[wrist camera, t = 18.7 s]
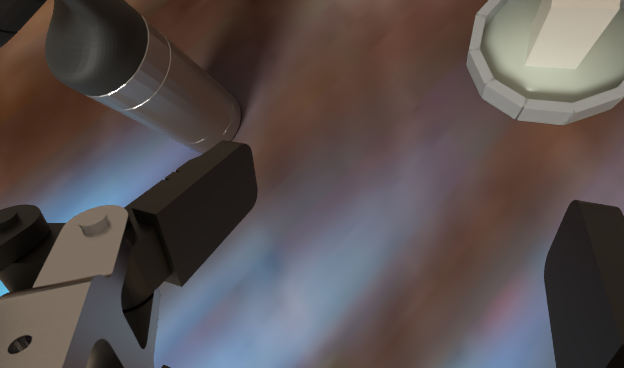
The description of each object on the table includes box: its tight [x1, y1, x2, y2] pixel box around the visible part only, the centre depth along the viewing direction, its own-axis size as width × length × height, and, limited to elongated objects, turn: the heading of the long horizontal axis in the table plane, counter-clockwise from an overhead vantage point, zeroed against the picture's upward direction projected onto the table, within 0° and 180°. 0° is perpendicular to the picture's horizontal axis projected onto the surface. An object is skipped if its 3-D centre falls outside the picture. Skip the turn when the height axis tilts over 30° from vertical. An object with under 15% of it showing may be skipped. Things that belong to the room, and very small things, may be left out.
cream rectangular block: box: [524, 0, 621, 69], centre depth 33 cm, size 5×5×9 cm
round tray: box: [466, 0, 624, 125], centre depth 37 cm, size 16×16×3 cm
